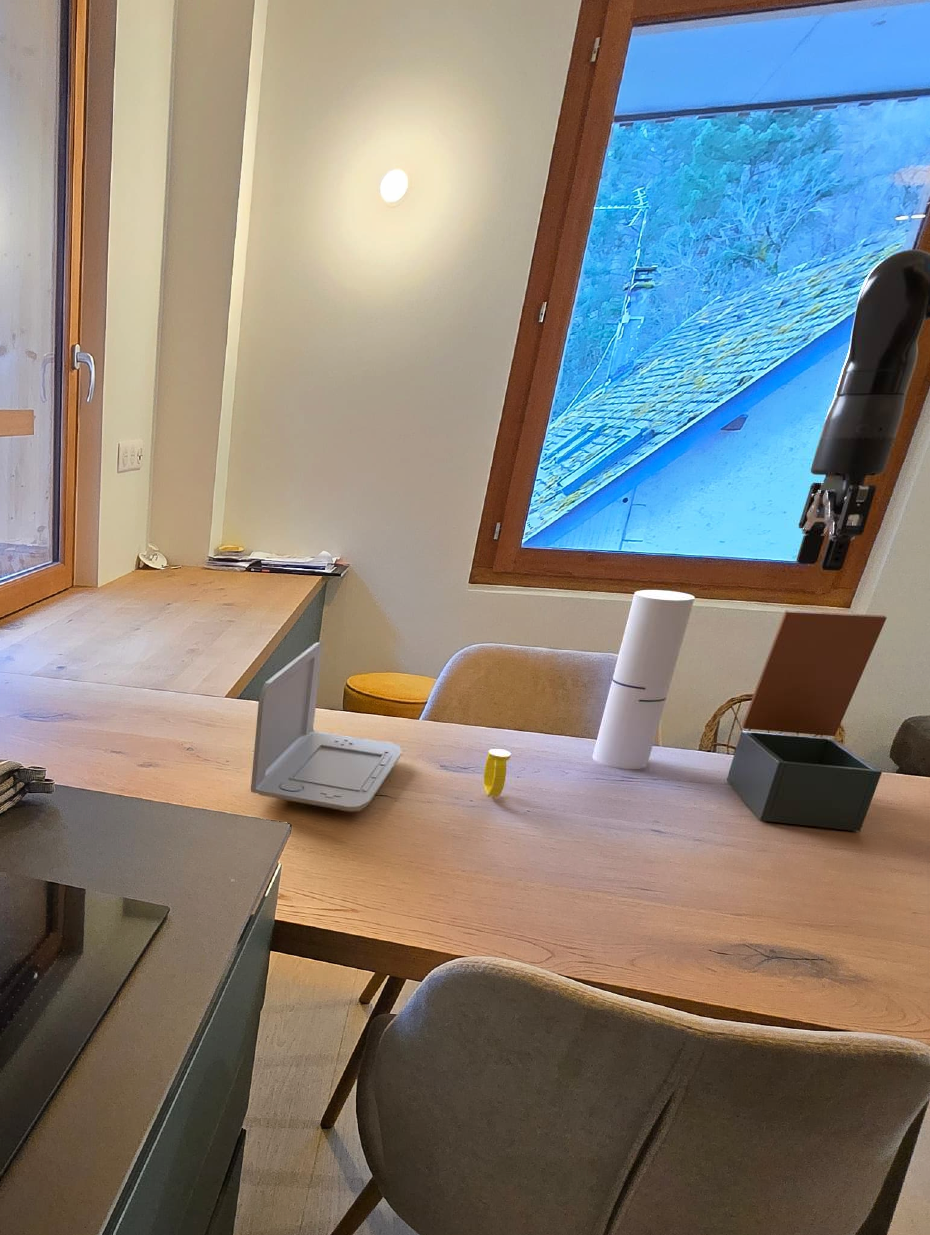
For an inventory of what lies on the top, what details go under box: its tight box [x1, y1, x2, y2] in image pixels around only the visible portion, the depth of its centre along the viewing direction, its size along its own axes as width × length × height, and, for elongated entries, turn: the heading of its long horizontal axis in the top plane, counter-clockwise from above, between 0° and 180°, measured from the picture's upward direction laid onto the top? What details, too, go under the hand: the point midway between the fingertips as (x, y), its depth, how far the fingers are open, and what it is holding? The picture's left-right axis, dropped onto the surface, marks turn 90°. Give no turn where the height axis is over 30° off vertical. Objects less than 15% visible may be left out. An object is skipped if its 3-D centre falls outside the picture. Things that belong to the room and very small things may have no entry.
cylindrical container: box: [592, 589, 695, 770], centre depth 138 cm, size 7×7×25 cm
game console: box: [250, 641, 403, 813], centre depth 134 cm, size 28×15×15 cm, turn 149°
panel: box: [741, 610, 888, 737], centre depth 127 cm, size 16×11×1 cm
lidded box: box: [726, 730, 883, 832], centre depth 126 cm, size 16×11×8 cm
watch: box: [483, 748, 512, 797], centre depth 130 cm, size 6×3×6 cm, turn 167°
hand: (817, 566), depth 128 cm, fingers open, 8 cm apart
